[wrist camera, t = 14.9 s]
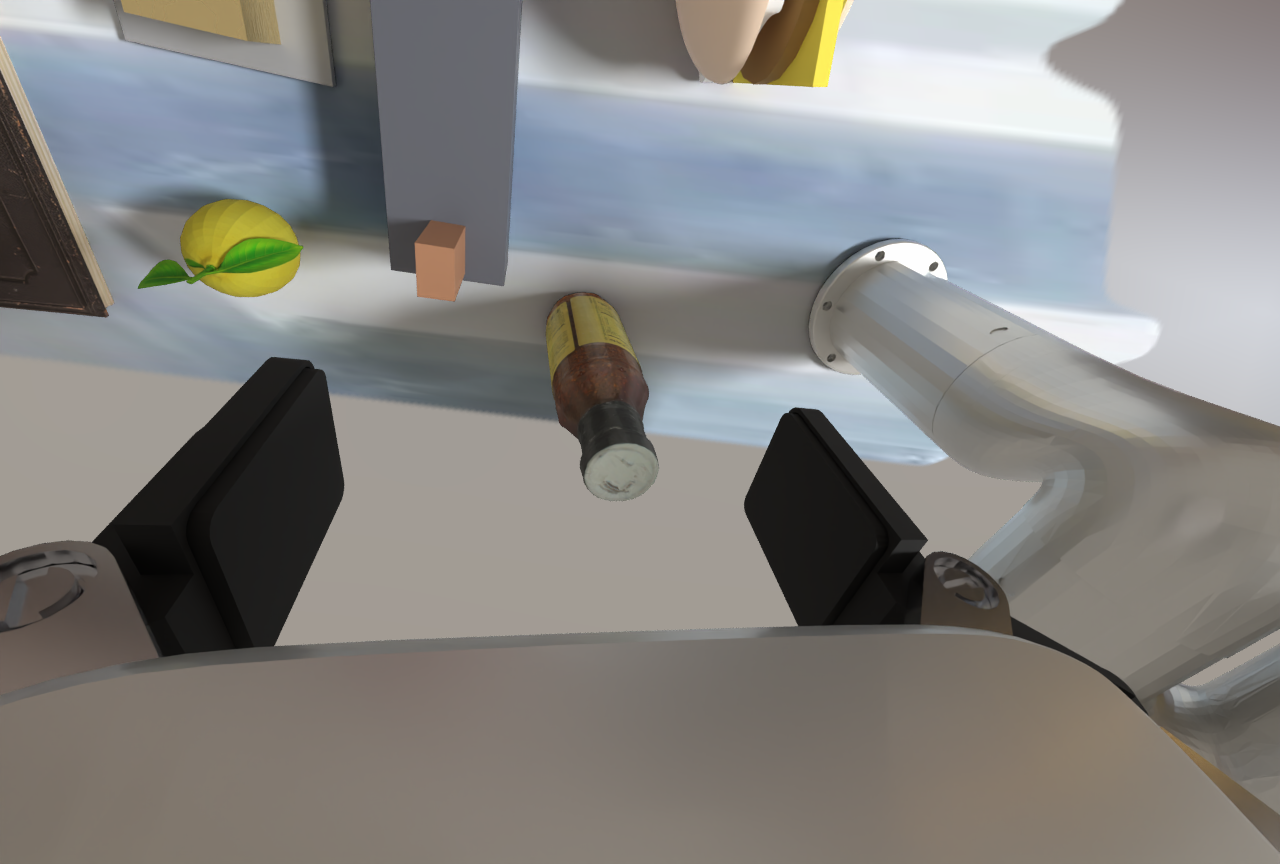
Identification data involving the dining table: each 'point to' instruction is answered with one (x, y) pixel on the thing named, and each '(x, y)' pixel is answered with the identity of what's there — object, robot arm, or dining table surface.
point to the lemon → (233, 250)
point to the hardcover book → (39, 219)
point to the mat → (296, 56)
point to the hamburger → (762, 39)
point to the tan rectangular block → (214, 16)
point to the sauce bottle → (600, 396)
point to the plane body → (447, 136)
